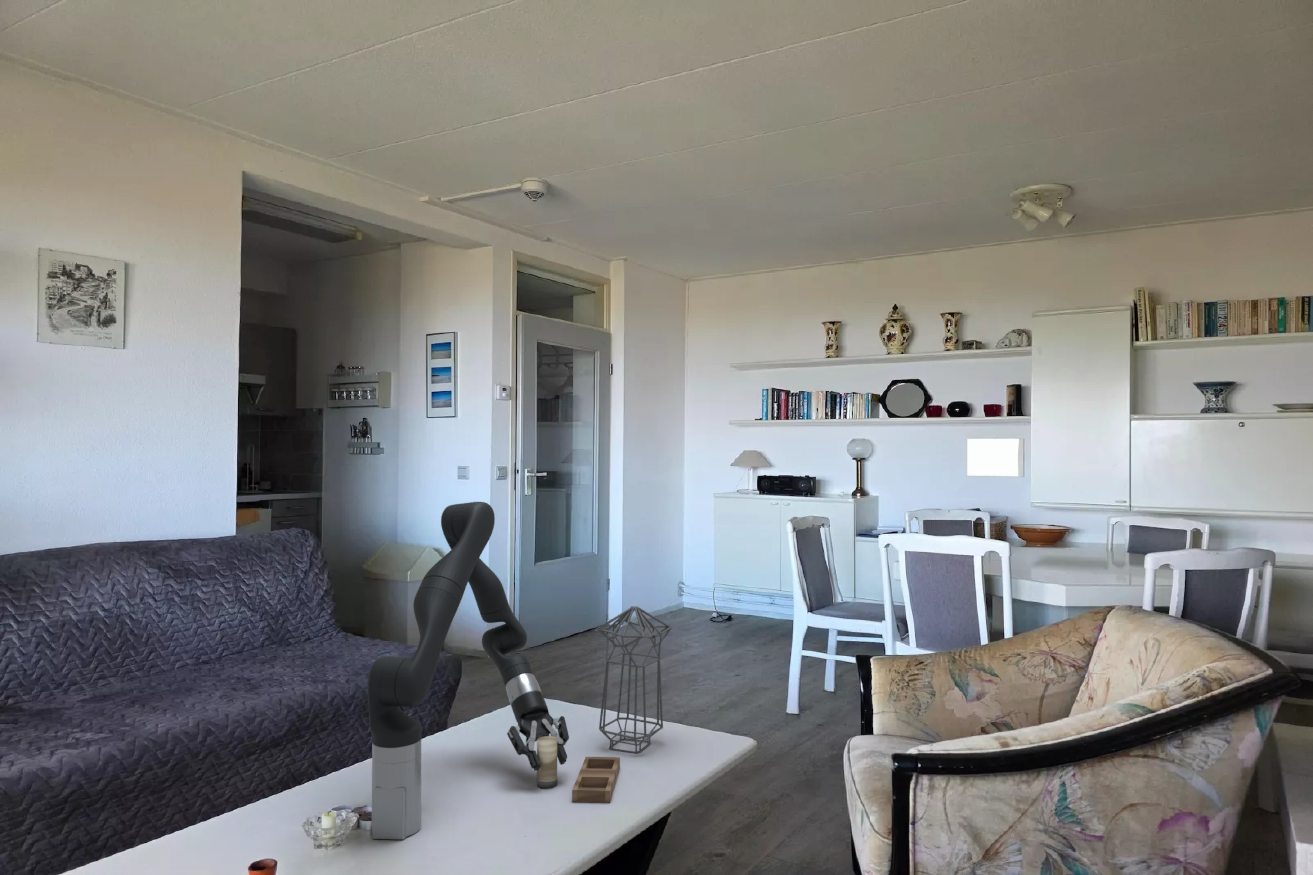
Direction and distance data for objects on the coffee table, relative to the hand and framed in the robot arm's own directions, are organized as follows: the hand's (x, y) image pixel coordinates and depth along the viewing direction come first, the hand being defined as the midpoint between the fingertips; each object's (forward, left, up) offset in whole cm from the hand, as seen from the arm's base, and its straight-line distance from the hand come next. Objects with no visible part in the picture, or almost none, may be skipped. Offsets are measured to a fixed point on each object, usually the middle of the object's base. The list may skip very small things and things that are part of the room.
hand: (551, 765), depth 187 cm
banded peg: (+1, +1, -5) cm, 5 cm away
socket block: (+2, -10, -5) cm, 11 cm away
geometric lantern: (+27, -16, -5) cm, 32 cm away
